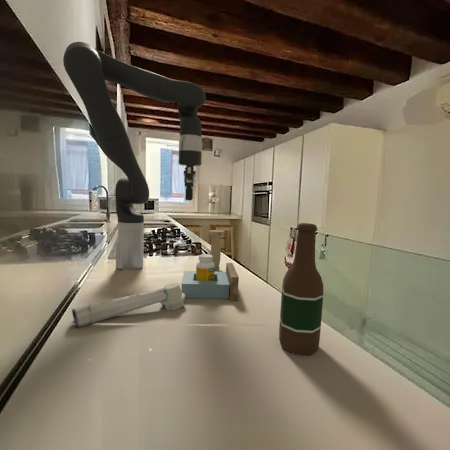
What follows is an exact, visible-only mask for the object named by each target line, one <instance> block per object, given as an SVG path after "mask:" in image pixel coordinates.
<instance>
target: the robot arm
mask: <svg viewBox="0 0 450 450" xmlns="http://www.w3.org/2000/svg"><path fill="white" fill-rule="evenodd" d="M62 62H63V66H64V70H65V72H66V74H67V75H68V77H69V79H70V81H71V83H72V84H73V86H74V88H75V90H76V92H77V93H78V95H79V97H80V99H81V101H82V103H83V105H84V108H85V109H86V113H87V117H88V119H89V120H88V121H89V122H90V125H91V128H92V130H93V133H94V135H95V138H96V139H97V140H96V141H97V143H98V144H99V147H100V149H101V151H102V153H103V154H104V155H105V156H106V157H107V159H109V160H110V161H111V162H112V163H113V164H114V165H115V166H116V167H118V168H119V169H120V171H122V173H124V175H125V176H126V178H120V179H118V180H117V182H116V184H115V189H114V190H115V191H114V193H115V195H114V196H115V213H116V217H117V242H115V269H118V270H123V271H124V270H128V271H129V270H130V271H131V270H139V269H142V268H143V267H144V238H145V237H144V232H145V231H144V228H145V227H144V226H145V222H144V221H145V216H144V215H143V213H141V212H138V211H137V210H136V209H134V208H133V205H142V204H146V203H147V202H148V201H149V199H150V189H149V188H150V187H149V185H148V181H147V179H146V178H145V176H144V173H143V172H142V169H141V167H140V165H139V163H138V160H137V158H136V156H135V155H136V154H135V152H134V150H133V147H132V144H131V141H130V137H129V135H128V132H127V129H126V127H125V124H124V122H123V120H122V118H121V116H120V114H119V113H118V110H117V109H116V107H115V105H114V104H113V102H112V100H111V96H110V94H109V93H110V92H109V90H108V86H107V83H106V81H107V82H111V83H114V84H118V85H119V86H122V87H125V88H127V89H129V90H131V91H133V92H134V93H138V94H139V95H142V96H144V97H146V98H149V99H152V100H156V101H159V102H162V103H165V104H170V103H177V111H178V112H177V113H178V117H179V121H180V122H179V123H180V124H179V141H178V165H179V166H183V167H184V166H185V167H184V170H183V177H184V178H183V183H184V188H185V194H184V196H185V197H184V199H185V201H193V197H194V194H193V193H194V188H195V184H196V176H197V175H196V173H197V172H196V170H194V169H195V168H194V167H200V166H201V165H202V159H203V158H202V152H203V151H202V150H203V149H202V148H203V142H202V141H203V140H202V127H203V126H202V121H201V120H200V118H199V117H198V116H199V115H198V109H200V108H201V107H202V106H204V104H205V103H206V98H207V96H206V92H205V91H204V89H203V88H202V87H201V86H200V85H198V84H196V83H193V82H191V81H184V80H180V79H179V80H177V79H172V78H168V77H166V76H164V75H160V74H157V73H155V72H152V71H150V70H146V69H142V68H140V67H137V66H133V65H131V64H128V63H127V62H124V61H122V60H119V59H116V58H115V57H112V56H110V55H108V54H107V53H105V52H103V51H100V50H99V49H97V48H96V47H93V46H91V45H90V44H89V43H86V42H84V41H74V42H72V43H70V44H68V46H67V47H66V49H65V51H64V54H63V59H62Z"/></svg>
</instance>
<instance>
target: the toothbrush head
mask: <svg viewBox="0 0 450 450" xmlns="http://www.w3.org/2000/svg"><path fill="white" fill-rule="evenodd" d="M181 289H182V288H181V285H179V283H176V282H174V283H169V284H166V285H164V286H163V287H161V288H158V289H154V290H148V291H144V292H140V293H139V292H138V293H136V294H131V295H126V296H121V297H117V298H112V299H108V300H104V301H98V302H95V303H91V302H88V304H86V305H83V306H80V307H79V306H78V307H76V308H72V309H71V313H72V318H73V324H74V328H75V329H76V328H80V327H81V328H82V327H85V326H88V325H95V324H96V323H97V322H101V321H104V320H107V319H111V318H114V317H117V316H121V315H122V314H126V313H130V312H133V311H137V310H139V309H143V308H145V307H149V306H152V305H156V304H158V303H160V304H161V307H162V308H163V310H168V311H172V310H173V311H174V310H179V309H181V308H184V307H185V299H186V298H185V294H184V293H181Z"/></svg>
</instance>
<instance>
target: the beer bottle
mask: <svg viewBox="0 0 450 450" xmlns="http://www.w3.org/2000/svg"><path fill="white" fill-rule="evenodd" d="M296 230H297V234H296V235H297V236H296V242H295V243H296V244H295V251H294V258H293V261H292V265H291V266H290V267H289V268H288V269H287V271H286V272H285V274H284V277H283V280H282V284H281V285H282V286H281V296H280V297H281V299H280V312H279V313H280V314H279V316H280V317H279V328H278V332H279V333H278V340H279V343H280V346H281V349H283V350H285V351H287V352H289V353H291V354H292V353H294V354H293V355H295V354H300V355H299V356H311V355H313V354H314V353H315V352H317V351H318V350H319V349H320V348H319V347H320V341H321V327H322V315H323V305H324V304H323V303H324V283H323V279H322V276H321V274H320V272H319V271H318V269H317V266H316V232H317V231H318V227H317V225H316V224H314V223H307V222H306V223H304V222H301V223H297V226H296ZM301 354H302V355H301Z"/></svg>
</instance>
